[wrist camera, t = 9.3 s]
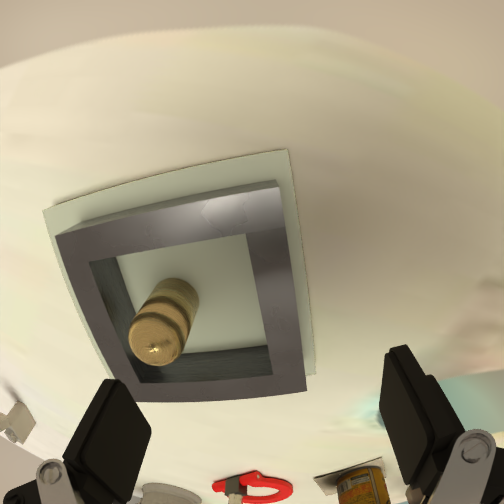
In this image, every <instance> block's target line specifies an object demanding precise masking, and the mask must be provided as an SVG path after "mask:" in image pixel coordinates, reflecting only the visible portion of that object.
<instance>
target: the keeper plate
mask: <svg viewBox="0 0 504 504" xmlns="http://www.w3.org/2000/svg"><path fill="white" fill-rule="evenodd" d="M274 179H276V181H277V183H278V186H279V190H280V196H281V202H282V208H283V214H284V220H285V227H286V233H287V240H288V246H289V253H290V260H291V267H292V274H293V281H294V288H295V295H296V303H297V310H298V318H299V326H300V334H301V342H302V350H303V359H304V368H305V376H308V375H314V374H316V366H315V355H314V343H313V333H312V323H311V313H310V304H309V295H308V286H307V278H306V270H305V262H304V254H303V246H302V239H301V232H300V224H299V217H298V211H297V204H296V197H295V191H294V184H293V178H292V172H291V166H290V160H289V154H288V149H282V150H276V151H270V152H264V153H258V154H252V155H247V156H241V157H236V158H230V159H225V160H220V161H215V162H211V163H206V164H201V165H197V166H192V167H188V168H183V169H179V170H175V171H171V172H167V173H163V174H159V175H155V176H151V177H147V178H143V179H139V180H136V181H132V182H128V183H125V184H121V185H118V186H114V187H111V188H107V189H104V190H101V191H98V192H94V193H91V194H88V195H85V196H82V197H79V198H75V199H72V200H69V201H66V202H63V203H61V204H58V205H55V206H52V207H50V208H47V209H45V210H42V212H43V215H44V219H45V223H46V226H47V230H48V233H49V236H50V240H51V243H52V246H53V249H54V252H55V255H56V258H57V261H58V264H59V267H60V269H61V272H62V275H63V278H64V280H65V283H66V285H67V288H68V291H69V293H70V296H71V298H72V300H73V303H74V305H75V308H76V310H77V312H78V315H79V317H80V319H81V321H82V324H83V326H84V328H85V330H86V332H87V334H88V336H89V339H90V341H91V343H92V345H93V347H94V349H95V351H96V353H97V355H98V357H99V359H100V360H101V362H102V364H103V366H104V368H105V370H106V372H107V374H108V375H109V377H110V379H115V378H114V376H113V374H112V372H111V370H110V369H109V367H108V365H107V363H106V361H105V359H104V357H103V355H102V353H101V351H100V349H99V347H98V345H97V343H96V341H95V339H94V337H93V335H92V332H91V330H90V328H89V326H88V324H87V321H86V319H85V317H84V315H83V312H82V310H81V308H80V305H79V303H78V300H77V298H76V296H75V293H74V291H73V288H72V285H71V283H70V280H69V277H68V275H67V272H66V269H65V266H64V264H63V261H62V258H61V255H60V252H59V249H58V246H57V242H56V239H55V235H57V234H59V233H61V232H63V231H64V230H66V229H68V228H70V227H72V226H74V225H76V224H78V223H80V222H82V221H85V220H89V219H93V218H96V217H100V216H104V215H108V214H112V213H115V212H119V211H123V210H127V209H131V208H136V207H140V206H144V205H148V204H152V203H157V202H161V201H166V200H170V199H175V198H179V197H184V196H188V195H193V194H198V193H203V192H208V191H213V190H218V189H223V188H229V187H234V186H239V185H245V184H250V183H256V182H262V181H268V180H274ZM116 258H117V261H118V264H119V267H120V270H121V273H122V276H123V279H124V282H125V285H126V288H127V291H128V293H129V296H130V299H131V302H132V304H133V307H134V310H135V312H136V314H137V313H138V311H139V310H140V308H141V307H142V305H143V304H144V302H145V301H146V299H147V298H148V296H149V295H150V294H151V292H152V291H153V289H154V288H155V286H156V285H157V284H158V283H159V282H160V281H162V280H163V279H166V278H179V279H182V280H184V281H186V282H188V283H189V284H190V285H191V286H193V288H194V289H195V290H196V292H197V294H198V297H199V308H198V311H197V314H196V316H195V319H194V322H193V325H192V328H191V331H190V333H189V336H188V339H187V342H186V345H185V348H184V350H183V352H182V354H183V353H196V352H208V351H218V350H228V349H237V348H245V347H254V346H261V345H267V340H266V335H265V330H264V325H263V320H262V315H261V310H260V305H259V300H258V295H257V290H256V285H255V280H254V275H253V270H252V265H251V260H250V255H249V249H248V244H247V239H246V234H239V235H233V236H227V237H221V238H216V239H210V240H204V241H198V242H193V243H187V244H182V245H176V246H170V247H165V248H159V249H154V250H148V251H143V252H138V253H132V254H127V255H122V256H116Z"/></svg>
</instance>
